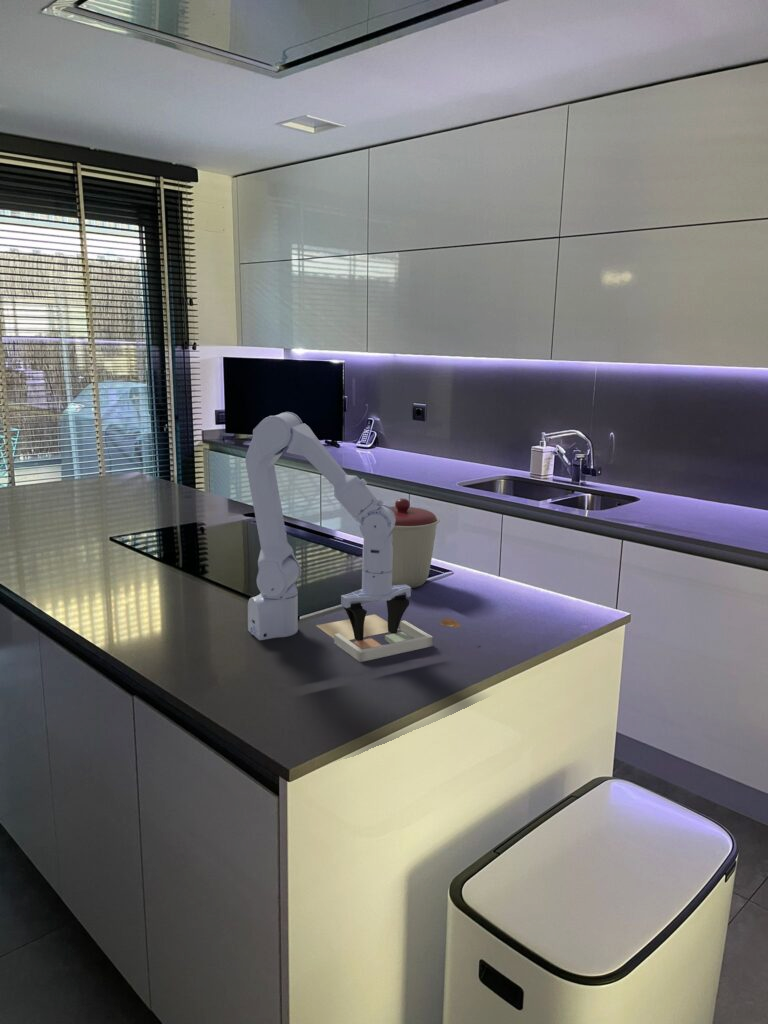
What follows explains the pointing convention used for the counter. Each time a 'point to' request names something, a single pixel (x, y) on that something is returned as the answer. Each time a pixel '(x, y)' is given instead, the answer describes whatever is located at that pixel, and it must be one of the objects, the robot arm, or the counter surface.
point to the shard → (449, 623)
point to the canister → (412, 544)
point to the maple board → (344, 627)
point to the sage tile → (397, 637)
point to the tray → (361, 655)
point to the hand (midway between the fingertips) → (375, 636)
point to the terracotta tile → (366, 643)
